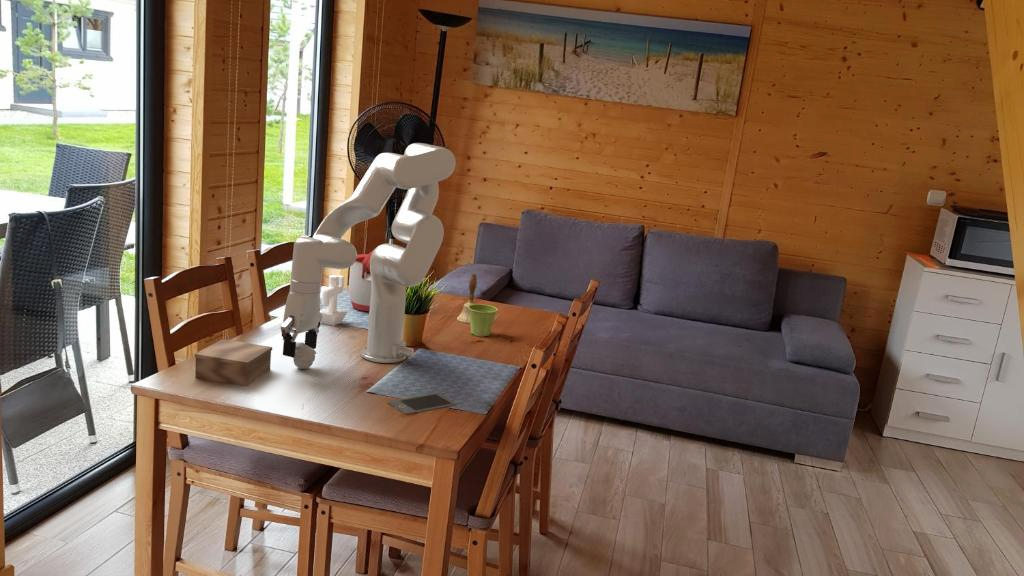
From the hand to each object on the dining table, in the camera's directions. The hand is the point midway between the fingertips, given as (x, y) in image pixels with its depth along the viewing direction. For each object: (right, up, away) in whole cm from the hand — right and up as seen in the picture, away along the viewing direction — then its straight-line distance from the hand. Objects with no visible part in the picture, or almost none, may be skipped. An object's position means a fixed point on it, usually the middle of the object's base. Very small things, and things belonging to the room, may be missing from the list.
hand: (299, 351), depth 208 cm
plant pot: (+44, +1, +51) cm, 67 cm away
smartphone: (+33, -12, -12) cm, 37 cm away
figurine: (-2, +5, +45) cm, 45 cm away
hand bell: (+40, +5, +66) cm, 77 cm away
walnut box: (-14, -5, -7) cm, 17 cm away
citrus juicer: (+6, +9, +66) cm, 67 cm away
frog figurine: (0, -5, +2) cm, 5 cm away
